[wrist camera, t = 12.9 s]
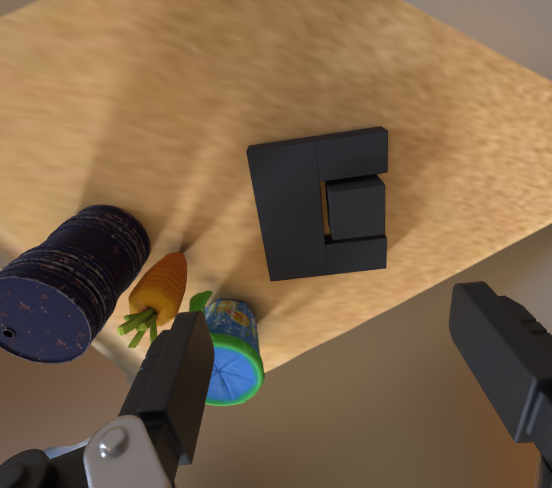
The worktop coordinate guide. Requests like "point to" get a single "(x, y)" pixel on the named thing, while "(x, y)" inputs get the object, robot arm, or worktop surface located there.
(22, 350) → the dark blue oil drum
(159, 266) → the carrot
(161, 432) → the robot arm
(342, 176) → the base pad
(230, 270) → the worktop surface
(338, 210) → the small block
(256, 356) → the snack cup
